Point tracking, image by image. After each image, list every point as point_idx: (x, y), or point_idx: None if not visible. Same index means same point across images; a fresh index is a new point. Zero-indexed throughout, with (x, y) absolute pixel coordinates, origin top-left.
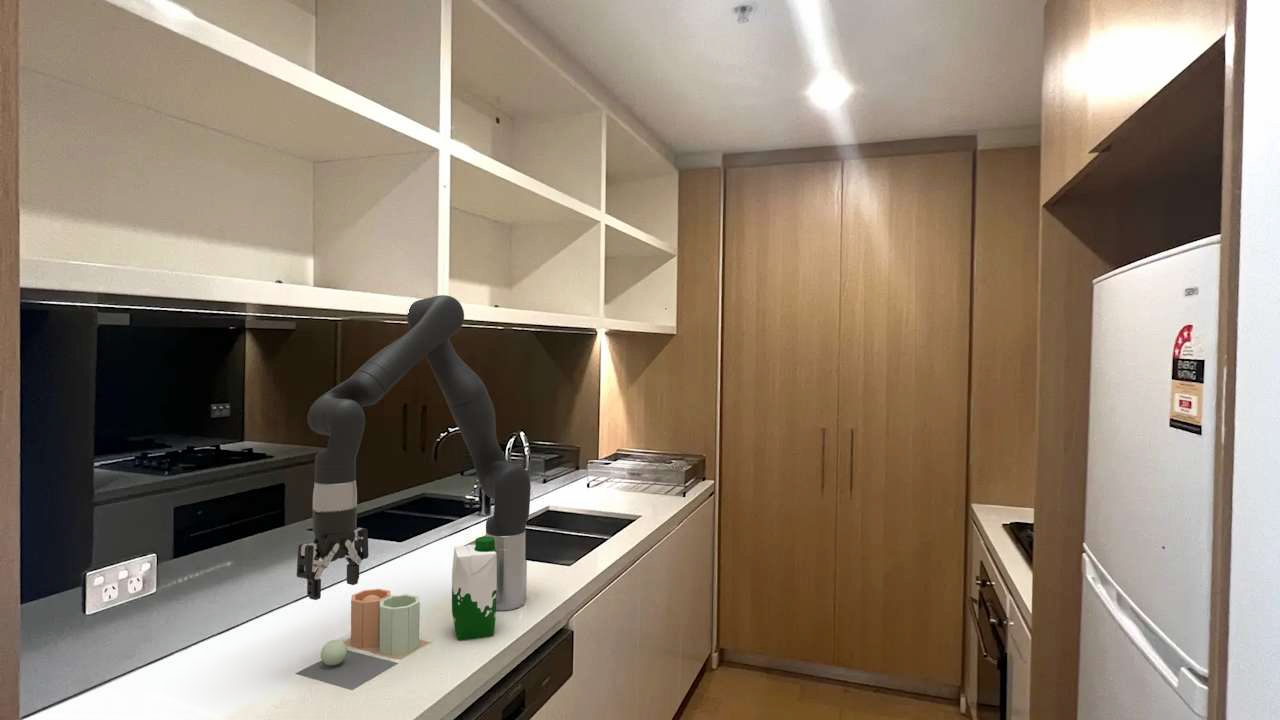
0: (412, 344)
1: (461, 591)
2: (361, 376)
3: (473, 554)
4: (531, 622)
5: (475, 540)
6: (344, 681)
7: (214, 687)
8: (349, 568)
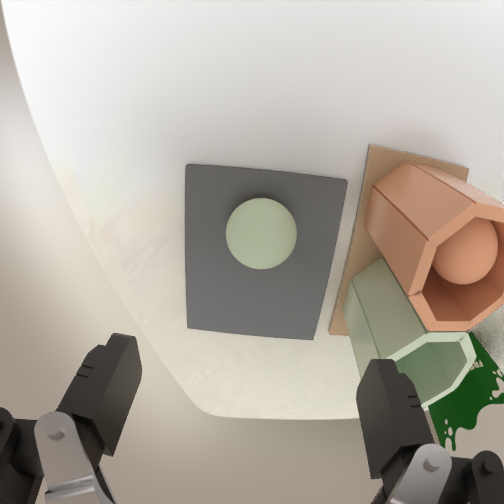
0: None
1: (450, 447)
2: None
3: None
4: None
5: None
6: (205, 297)
7: (86, 43)
8: (385, 441)
